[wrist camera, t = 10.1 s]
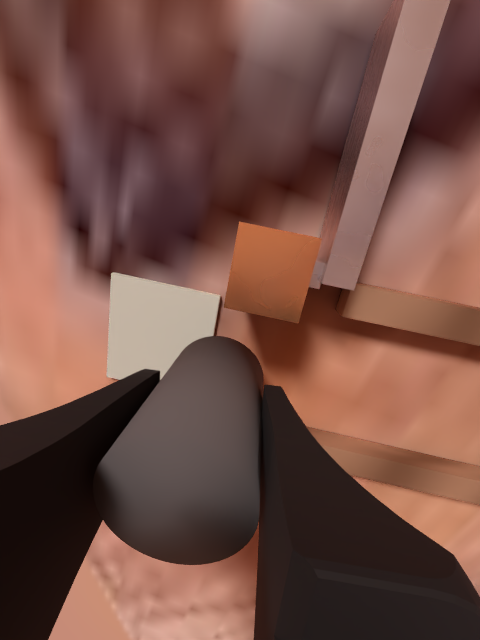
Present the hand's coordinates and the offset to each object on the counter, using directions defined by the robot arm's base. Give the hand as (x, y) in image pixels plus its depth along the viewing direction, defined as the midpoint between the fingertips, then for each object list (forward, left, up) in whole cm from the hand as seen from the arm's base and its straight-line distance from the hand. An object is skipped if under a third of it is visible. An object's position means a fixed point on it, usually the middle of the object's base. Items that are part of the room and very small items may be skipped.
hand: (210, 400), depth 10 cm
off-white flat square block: (+4, 0, -4) cm, 6 cm away
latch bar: (-2, -9, -4) cm, 10 cm away
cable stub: (0, 0, -2) cm, 2 cm away
